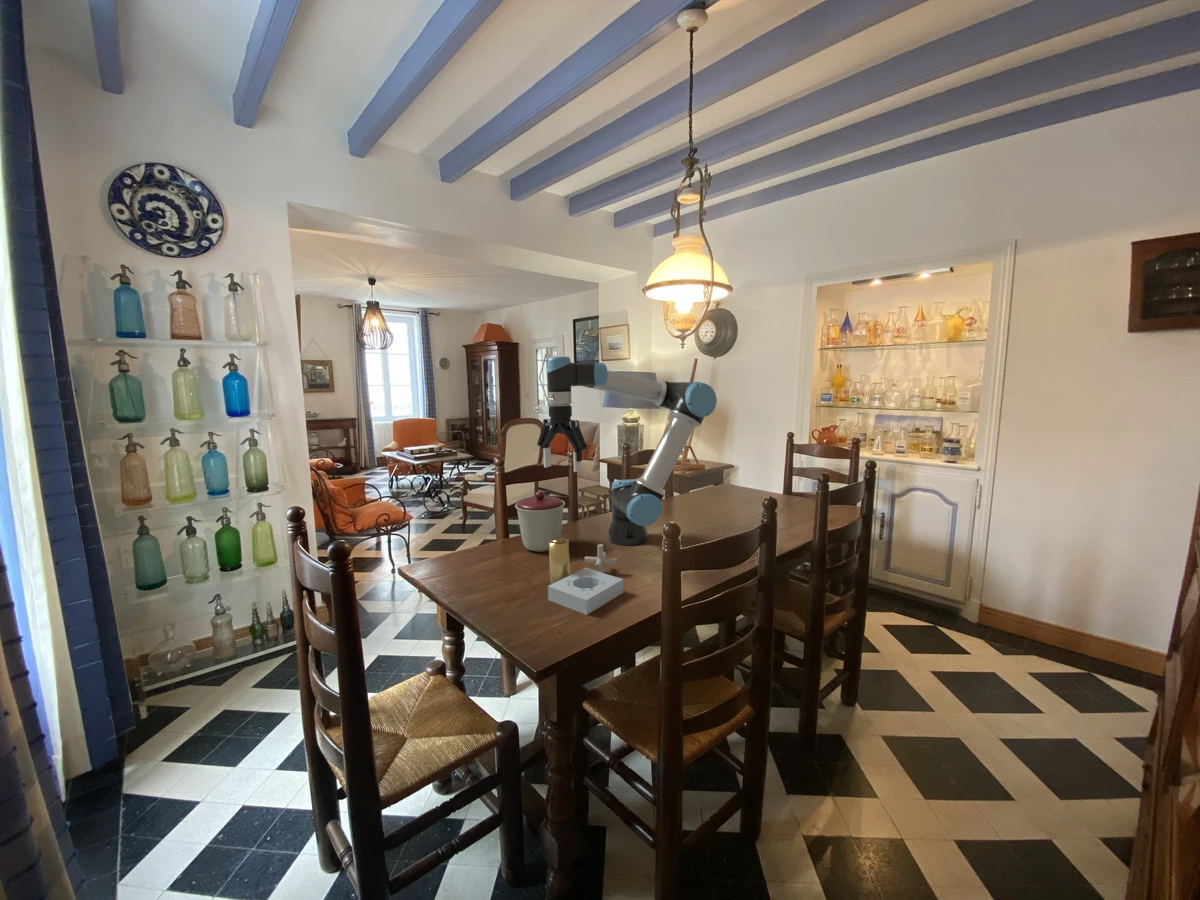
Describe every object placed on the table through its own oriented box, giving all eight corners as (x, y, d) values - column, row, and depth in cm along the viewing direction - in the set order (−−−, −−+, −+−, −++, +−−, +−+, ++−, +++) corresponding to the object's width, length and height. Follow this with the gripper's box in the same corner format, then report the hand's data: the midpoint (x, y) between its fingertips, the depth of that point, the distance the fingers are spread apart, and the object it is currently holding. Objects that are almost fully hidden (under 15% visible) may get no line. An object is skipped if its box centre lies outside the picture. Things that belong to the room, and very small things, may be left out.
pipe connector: (613, 583, 144) (613, 551, 142) (581, 581, 146) (580, 550, 144) (619, 570, 153) (618, 540, 152) (588, 568, 155) (588, 539, 154)
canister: (532, 560, 163) (529, 500, 160) (508, 545, 178) (505, 490, 175) (575, 548, 174) (574, 492, 171) (550, 535, 188) (548, 483, 185)
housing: (585, 583, 144) (585, 567, 143) (623, 595, 136) (623, 579, 135) (548, 603, 132) (547, 586, 131) (586, 618, 123) (586, 600, 122)
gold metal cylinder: (559, 576, 148) (558, 534, 146) (574, 581, 144) (572, 538, 142) (546, 583, 144) (544, 540, 142) (560, 588, 140) (559, 544, 138)
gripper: (525, 404, 160) (528, 466, 163) (581, 406, 144) (583, 475, 148) (541, 403, 166) (543, 463, 169) (597, 405, 150) (598, 471, 153)
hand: (562, 469), depth 158 cm, fingers open, 13 cm apart
